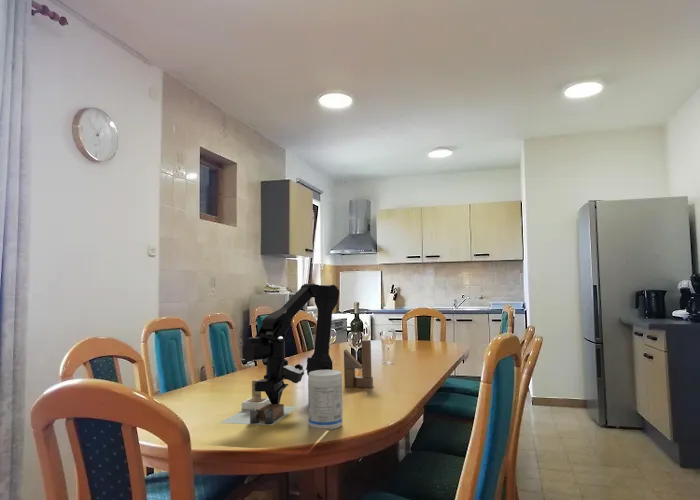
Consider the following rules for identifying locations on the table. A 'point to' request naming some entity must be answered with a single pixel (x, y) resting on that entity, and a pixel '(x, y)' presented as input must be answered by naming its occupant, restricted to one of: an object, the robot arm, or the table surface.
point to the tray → (254, 404)
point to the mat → (244, 417)
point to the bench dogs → (255, 416)
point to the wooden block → (358, 367)
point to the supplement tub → (325, 399)
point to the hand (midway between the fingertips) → (276, 409)
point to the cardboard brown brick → (277, 409)
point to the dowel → (255, 393)
